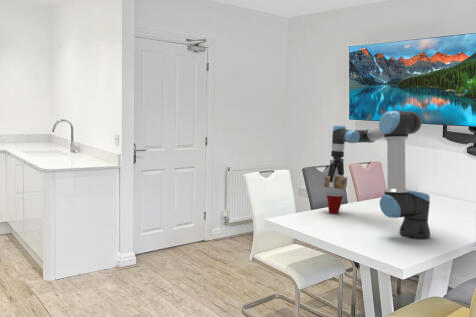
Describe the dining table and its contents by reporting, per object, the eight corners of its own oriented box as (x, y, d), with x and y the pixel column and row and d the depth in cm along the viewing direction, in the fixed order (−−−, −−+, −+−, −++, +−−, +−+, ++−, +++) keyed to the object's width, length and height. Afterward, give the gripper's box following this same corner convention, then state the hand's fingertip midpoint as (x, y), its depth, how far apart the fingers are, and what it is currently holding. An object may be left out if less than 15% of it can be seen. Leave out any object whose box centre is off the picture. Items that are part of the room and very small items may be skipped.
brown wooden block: (346, 186, 277) (347, 177, 276) (343, 189, 269) (344, 179, 268) (327, 184, 282) (327, 175, 281) (324, 187, 273) (324, 177, 273)
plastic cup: (341, 211, 282) (342, 192, 280) (343, 215, 271) (345, 196, 270) (324, 210, 283) (325, 191, 282) (325, 214, 272) (326, 195, 271)
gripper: (340, 148, 284) (337, 183, 286) (323, 151, 266) (321, 187, 269) (351, 150, 279) (348, 184, 282) (335, 152, 261) (332, 189, 264)
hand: (335, 186), depth 275 cm, fingers closed on brown wooden block, 10 cm apart
